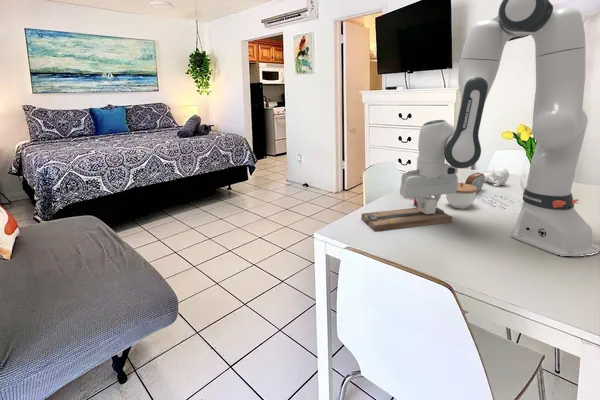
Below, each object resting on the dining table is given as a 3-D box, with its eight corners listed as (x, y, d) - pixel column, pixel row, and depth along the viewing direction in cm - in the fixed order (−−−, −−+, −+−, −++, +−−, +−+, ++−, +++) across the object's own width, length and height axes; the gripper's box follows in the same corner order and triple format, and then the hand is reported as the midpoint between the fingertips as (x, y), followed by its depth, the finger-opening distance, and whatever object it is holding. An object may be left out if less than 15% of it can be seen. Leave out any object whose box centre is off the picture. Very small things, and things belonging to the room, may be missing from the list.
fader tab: (435, 213, 126) (436, 199, 124) (426, 214, 125) (427, 200, 123) (427, 208, 130) (428, 195, 129) (418, 209, 130) (419, 196, 128)
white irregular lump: (501, 168, 158) (478, 166, 169) (500, 188, 160) (477, 184, 171) (511, 167, 160) (488, 164, 171) (510, 186, 162) (487, 182, 173)
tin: (476, 188, 161) (479, 170, 158) (484, 190, 159) (486, 171, 156) (461, 196, 151) (464, 176, 149) (469, 197, 149) (472, 178, 146)
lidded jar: (466, 212, 132) (469, 188, 130) (439, 206, 140) (441, 182, 137) (479, 205, 139) (482, 182, 136) (452, 200, 147) (454, 177, 144)
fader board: (451, 222, 124) (452, 214, 123) (375, 231, 118) (375, 223, 118) (431, 211, 135) (432, 203, 134) (361, 218, 130) (361, 211, 129)
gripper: (406, 173, 118) (404, 213, 122) (462, 168, 122) (458, 207, 126) (397, 169, 124) (395, 207, 128) (450, 164, 128) (447, 201, 132)
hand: (427, 207), depth 127 cm, fingers closed on fader tab, 3 cm apart
